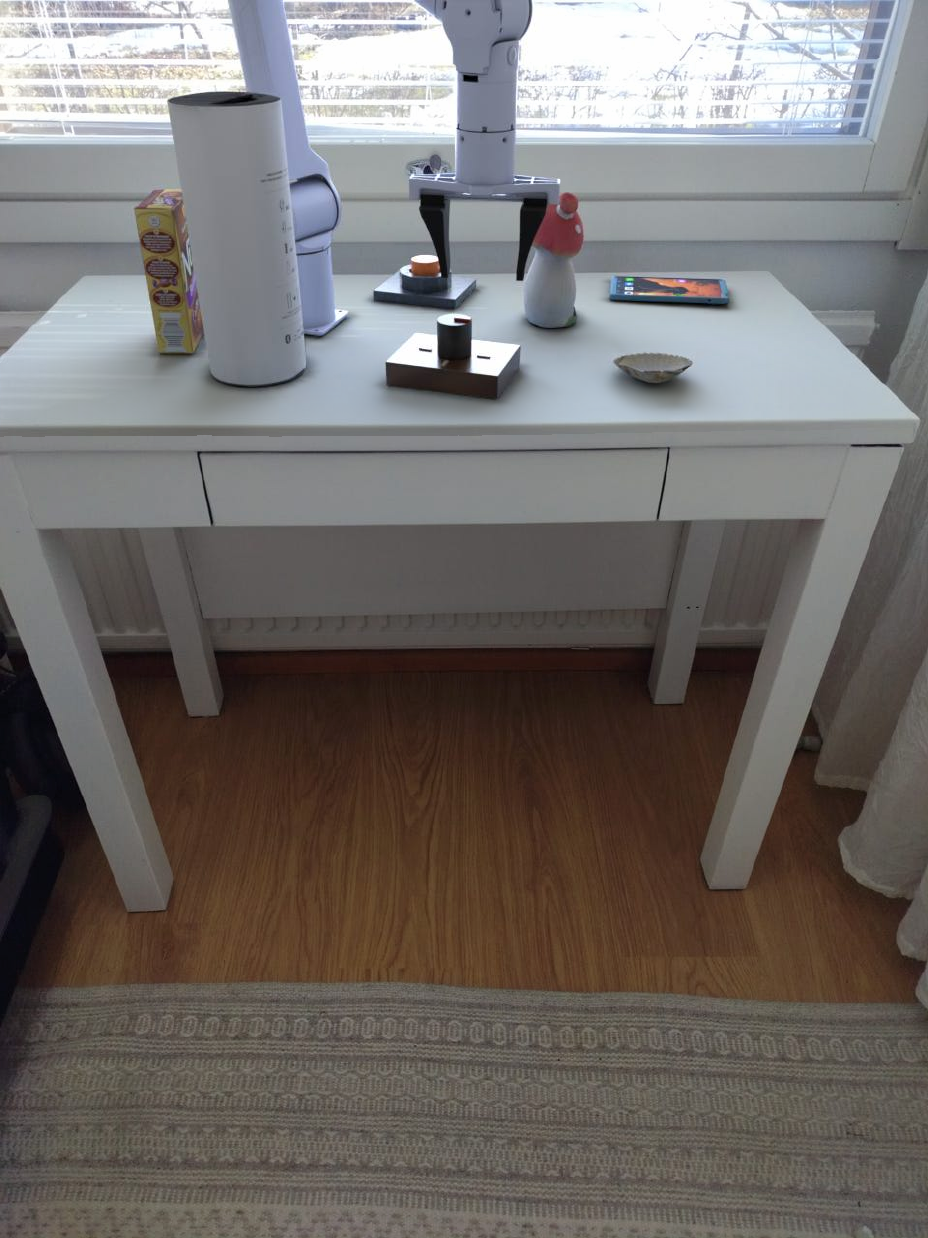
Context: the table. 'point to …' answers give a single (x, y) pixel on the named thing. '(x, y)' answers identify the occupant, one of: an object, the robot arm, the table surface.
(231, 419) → the table surface
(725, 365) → the table surface
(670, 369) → the seashell
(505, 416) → the table surface
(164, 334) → the candy box
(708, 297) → the smartphone
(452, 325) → the dial
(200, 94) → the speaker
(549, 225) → the decorative ornament
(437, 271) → the switch
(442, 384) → the dial panel
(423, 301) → the switch base
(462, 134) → the robot arm
